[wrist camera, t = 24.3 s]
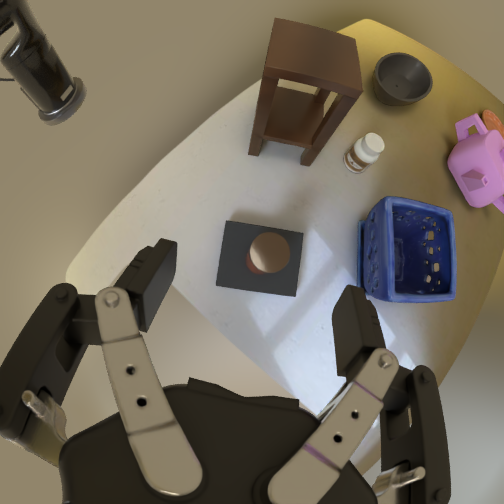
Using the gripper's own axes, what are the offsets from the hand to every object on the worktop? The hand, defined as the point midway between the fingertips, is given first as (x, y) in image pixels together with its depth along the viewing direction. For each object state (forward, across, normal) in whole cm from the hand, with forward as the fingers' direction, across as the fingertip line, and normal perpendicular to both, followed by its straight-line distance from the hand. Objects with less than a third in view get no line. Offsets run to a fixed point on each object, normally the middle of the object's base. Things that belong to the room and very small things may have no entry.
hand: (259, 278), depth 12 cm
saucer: (+60, -62, -22) cm, 89 cm away
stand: (+36, 0, -1) cm, 37 cm away
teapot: (+44, -44, -6) cm, 62 cm away
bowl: (+53, -22, -17) cm, 60 cm away
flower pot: (+26, -21, +12) cm, 36 cm away
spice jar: (+21, -1, +14) cm, 25 cm away
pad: (+22, -1, +15) cm, 27 cm away
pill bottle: (+36, -13, 0) cm, 39 cm away
